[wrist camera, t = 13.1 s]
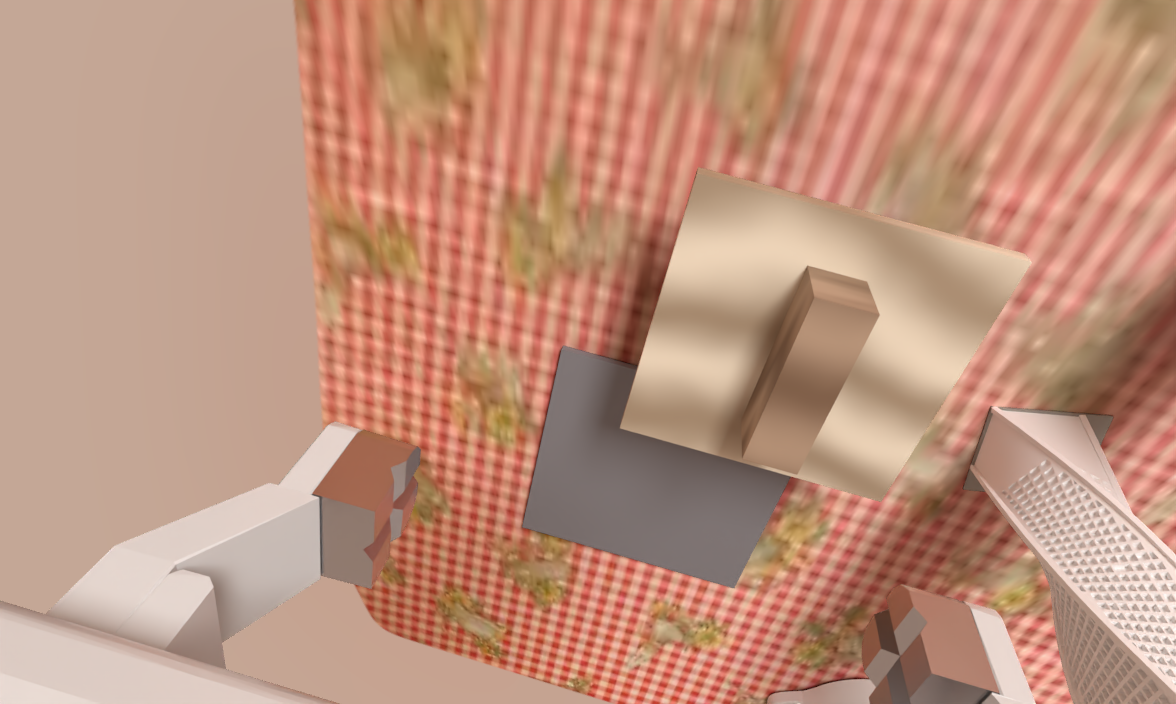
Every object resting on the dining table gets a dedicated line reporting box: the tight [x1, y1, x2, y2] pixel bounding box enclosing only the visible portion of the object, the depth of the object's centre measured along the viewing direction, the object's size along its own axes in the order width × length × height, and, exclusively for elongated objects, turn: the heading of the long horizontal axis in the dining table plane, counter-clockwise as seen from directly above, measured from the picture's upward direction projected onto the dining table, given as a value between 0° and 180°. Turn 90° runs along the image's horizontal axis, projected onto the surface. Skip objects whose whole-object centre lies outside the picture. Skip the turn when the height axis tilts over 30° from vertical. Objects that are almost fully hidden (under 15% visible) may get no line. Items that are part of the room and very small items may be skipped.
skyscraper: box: [963, 406, 1176, 704], centre depth 33 cm, size 8×8×28 cm
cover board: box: [620, 167, 1032, 502], centre depth 35 cm, size 16×16×4 cm
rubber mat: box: [522, 346, 791, 588], centre depth 51 cm, size 18×18×1 cm
